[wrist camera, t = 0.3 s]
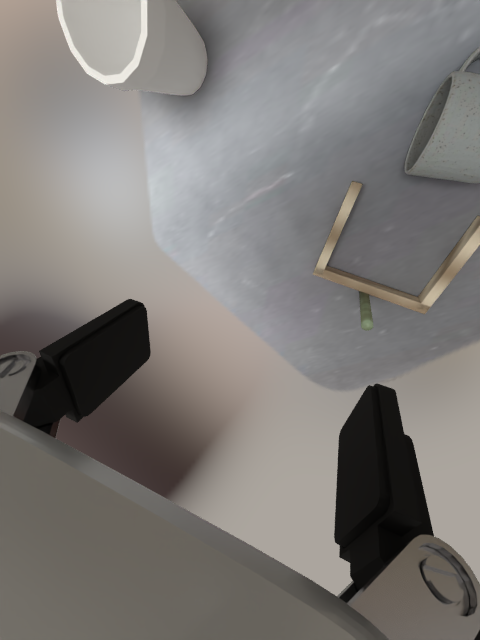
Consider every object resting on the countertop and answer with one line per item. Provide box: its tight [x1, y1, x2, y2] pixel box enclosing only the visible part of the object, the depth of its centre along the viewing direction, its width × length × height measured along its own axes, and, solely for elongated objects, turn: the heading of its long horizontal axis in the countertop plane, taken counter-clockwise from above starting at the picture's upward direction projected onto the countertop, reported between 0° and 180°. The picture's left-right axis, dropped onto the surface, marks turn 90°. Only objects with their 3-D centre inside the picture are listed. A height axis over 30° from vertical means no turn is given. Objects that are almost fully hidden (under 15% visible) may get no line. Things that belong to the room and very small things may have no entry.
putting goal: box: [313, 181, 480, 330], centre depth 29 cm, size 13×15×10 cm
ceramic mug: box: [405, 47, 480, 184], centre depth 22 cm, size 11×8×8 cm
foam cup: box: [56, 0, 208, 96], centre depth 26 cm, size 10×9×13 cm
